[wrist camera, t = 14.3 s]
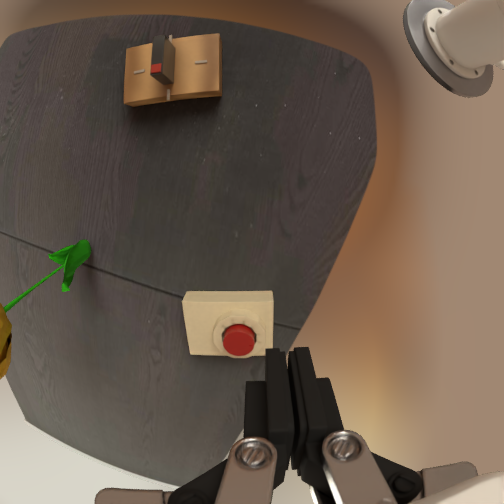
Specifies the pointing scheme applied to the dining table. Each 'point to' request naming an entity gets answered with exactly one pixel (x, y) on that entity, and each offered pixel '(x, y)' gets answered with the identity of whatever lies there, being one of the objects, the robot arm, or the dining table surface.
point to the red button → (238, 340)
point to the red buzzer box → (227, 319)
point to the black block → (162, 60)
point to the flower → (66, 257)
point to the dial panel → (175, 71)
